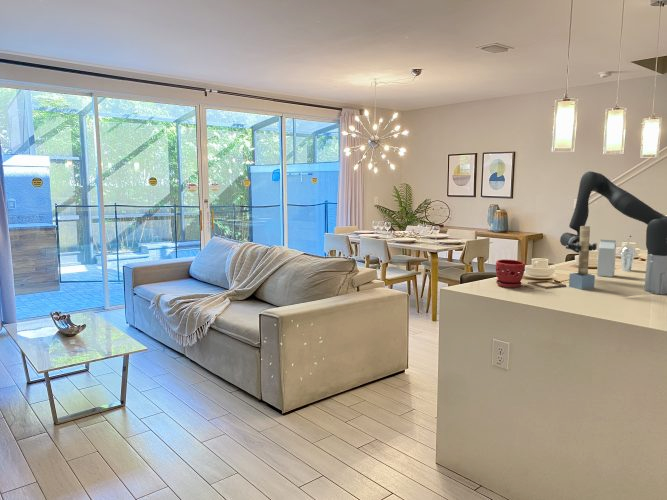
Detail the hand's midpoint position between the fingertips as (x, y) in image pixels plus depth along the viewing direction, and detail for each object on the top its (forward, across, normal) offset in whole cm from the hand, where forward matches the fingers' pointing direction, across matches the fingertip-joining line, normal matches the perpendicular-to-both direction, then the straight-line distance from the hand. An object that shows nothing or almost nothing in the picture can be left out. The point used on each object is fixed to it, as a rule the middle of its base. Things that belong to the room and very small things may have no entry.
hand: (585, 248), depth 224 cm
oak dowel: (-3, 0, +12) cm, 13 cm away
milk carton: (-42, +19, +20) cm, 50 cm away
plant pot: (-3, -32, +19) cm, 37 cm away
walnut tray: (-5, -15, +19) cm, 25 cm away
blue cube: (-3, 0, +20) cm, 20 cm away
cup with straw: (-61, +34, +20) cm, 72 cm away
